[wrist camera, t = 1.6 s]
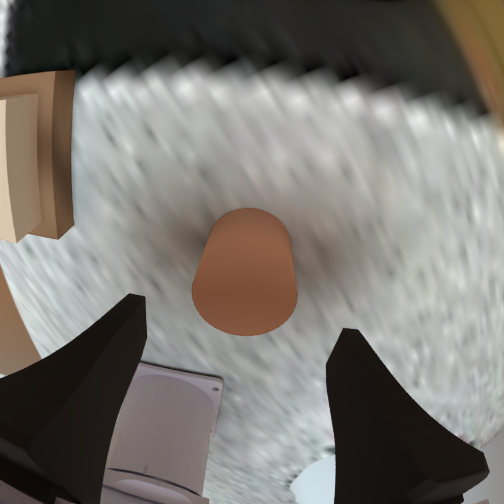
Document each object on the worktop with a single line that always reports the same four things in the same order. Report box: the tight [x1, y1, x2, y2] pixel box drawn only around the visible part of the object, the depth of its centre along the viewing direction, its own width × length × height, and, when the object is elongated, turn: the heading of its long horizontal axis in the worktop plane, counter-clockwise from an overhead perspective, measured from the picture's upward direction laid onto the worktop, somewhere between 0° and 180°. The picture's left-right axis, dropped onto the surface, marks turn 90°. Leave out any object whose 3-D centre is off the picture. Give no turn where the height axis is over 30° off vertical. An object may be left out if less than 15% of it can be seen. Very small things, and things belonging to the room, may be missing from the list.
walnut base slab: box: [0, 70, 76, 240], centre depth 14 cm, size 9×9×2 cm
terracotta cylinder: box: [192, 208, 297, 336], centre depth 15 cm, size 4×4×4 cm
